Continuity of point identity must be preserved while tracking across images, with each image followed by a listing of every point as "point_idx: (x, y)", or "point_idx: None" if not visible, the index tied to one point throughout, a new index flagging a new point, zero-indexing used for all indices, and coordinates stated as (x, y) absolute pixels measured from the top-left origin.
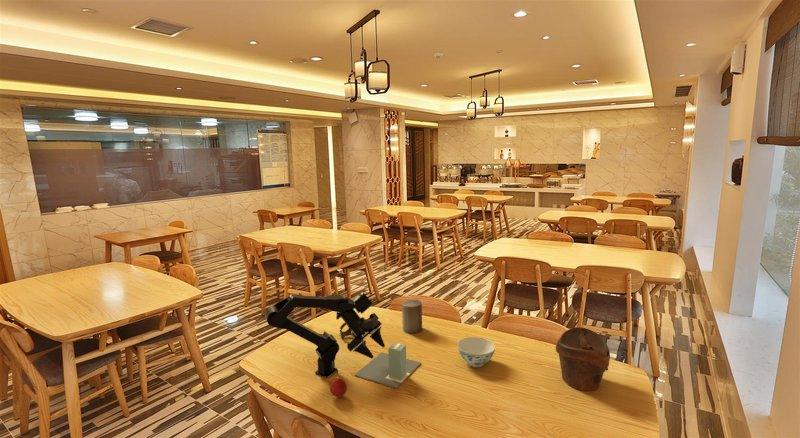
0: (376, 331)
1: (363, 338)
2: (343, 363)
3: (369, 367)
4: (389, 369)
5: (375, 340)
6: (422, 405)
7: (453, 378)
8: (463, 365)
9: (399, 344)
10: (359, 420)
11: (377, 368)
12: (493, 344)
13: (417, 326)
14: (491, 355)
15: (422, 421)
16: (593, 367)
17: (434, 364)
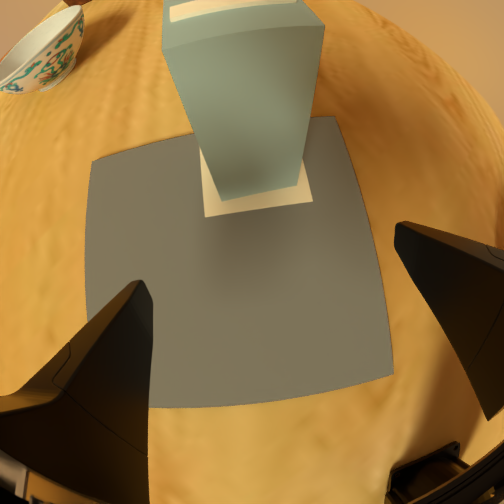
0: (38, 454)
1: (493, 454)
2: (321, 499)
3: (281, 364)
4: (300, 155)
5: (141, 420)
6: (332, 37)
7: (149, 48)
8: (73, 78)
9: (187, 5)
10: (501, 144)
11: (259, 312)
12: (28, 34)
13: None
14: (64, 20)
15: (376, 27)
16: None
17: (85, 128)
